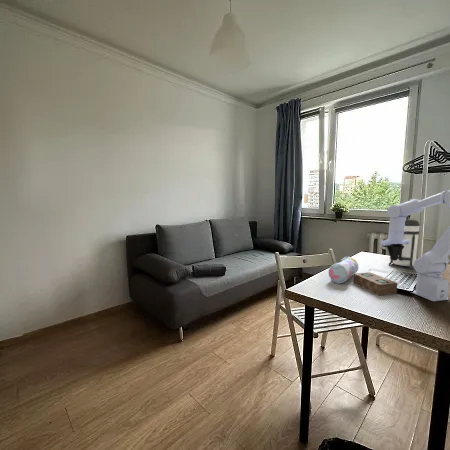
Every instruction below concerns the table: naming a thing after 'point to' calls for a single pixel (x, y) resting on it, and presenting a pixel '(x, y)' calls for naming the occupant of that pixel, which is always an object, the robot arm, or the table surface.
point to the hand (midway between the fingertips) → (393, 259)
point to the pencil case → (343, 270)
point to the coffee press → (409, 250)
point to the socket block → (375, 284)
